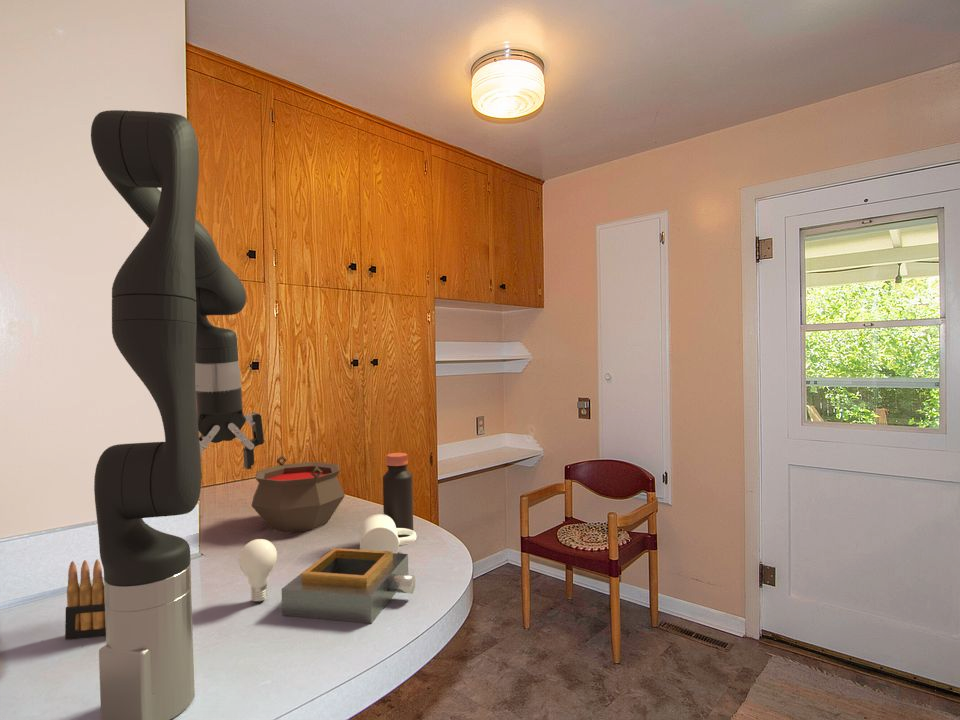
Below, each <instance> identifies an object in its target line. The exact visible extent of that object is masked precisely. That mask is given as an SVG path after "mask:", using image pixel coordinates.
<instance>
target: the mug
mask: <svg viewBox="0 0 960 720" xmlns="http://www.w3.org/2000/svg"><path fill="white" fill-rule="evenodd" d="M398 535H410V536H408V537H402V538H398ZM416 539H417V533H416V531H414V529H413V530H410V529H405V528H396V526H395V523H394V521H393V520H392V518H391V517H389V516H388V515H386V514H384V513H382V512H379V513H373V514H370V515H369V516H367V517H366V518H365V519H364V520H363V522H362V523H361V525H360V528H359V550H374V551H390V552H393V553H398V552H399V549H400V546H403V545H408V544H412V543H413V542H415V541H416Z"/></svg>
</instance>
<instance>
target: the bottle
mask: <svg viewBox="0 0 960 720" xmlns="http://www.w3.org/2000/svg"><path fill="white" fill-rule="evenodd" d="M385 458H386V468H387V471H386V472H385V473H384V475H383V476H382V498H383V499H382V504H383V508H382V509H383V514H386V515H388V516H389V517H391V518H392V520H393V521H394V523H395V526H396V528H405V529H410V530H413V531H414V505H413V504H414V500H413V497H414V495H413V475H412V474H411V473H410V471H409V470H408V469H407V467H408V464H409V457H408V453H405V452H392V453H388V454H386V456H385ZM408 536H410V535H398V538H402V537H408Z"/></svg>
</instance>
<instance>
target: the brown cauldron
mask: <svg viewBox="0 0 960 720" xmlns="http://www.w3.org/2000/svg"><path fill="white" fill-rule="evenodd" d="M281 460H282V461H281ZM287 461H288V458H286V457H285V456H284V455H282V454H281V455H280V456H279V458H278V459H277V460H276V463H277V464H279V465H275V466H274V465H273V466H272V467H271V466H270V467H268V468H263V469H260V470H257V471H256V473H255V477H254V478H255V480H256V481H257V482H258V484H257V487H256V489H255V491H254V495H253V497H252V502H251V507H252V508H253V509H254V511H255V512H256V513H257V514H258V515H259V517H261V519H262V520H263V521H264V522H265V523H266V524H267V526H268V527H269V528H270V529H271V530H272V531H277V532H281V531H282V533H287V532H291V533H297V532H296V531H299V532H306V531H312V530H315V529H317V528H319V527H322V526H324V525H326V524H328V523H329V521H330V519H331V518H332V516H333V515H334V513H335V512H336V510H337V509H338V507H339V506H340V504H341V503H342V502H343V499H344V498H345V497H346V495H345V492H344V489H343V487H342V486H341V483H340V481H339V479H338V477H337V476H338V474H339V473H340V472H341V469H340V467H339V464H338V463H329V462H328V463H327V462H319V461H309V462H298V463H287ZM305 530H306V531H305Z"/></svg>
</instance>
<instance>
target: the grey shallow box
mask: <svg viewBox="0 0 960 720" xmlns="http://www.w3.org/2000/svg"><path fill="white" fill-rule="evenodd" d="M415 588H416V576H415V575H413V574H409V554H408V553H398V552H397V553H393V552H390V551H374V550H360V549H355V548H337V547H333V548H332V549H331V550H330V551H328V552H327V553H326V554H324V555H323V556H322V557H321V558H319V559H317V561H315V562H314V563H313V564H312V565H310V566H308V568H307V569H305V570H304V571H302V572H301V573H300V574H299V575H297V576H296V577H295V578H293V579H292V580H291V581H290V582H288V583H287V584H286V585H284V587H282V588H281V615H282V616H284V617H295V618H296V617H297V618H305V619H318V620H327V621H328V620H329V621H337V622H338V621H339V622H340V621H341V622H351V623H362V624H370V625H371V624H372V623H374V621H375V620H376V618H377V617H379V615H380V614H381V612H382V611H383V610H384V609H385V607H386V606H387V605H388V603H389V602H390V601H391V600H392V599H393V597H394V596H395V595H396V594H399V593H400V594H409V595H410V594H411V595H412V594H413V593H414V591H415Z"/></svg>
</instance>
